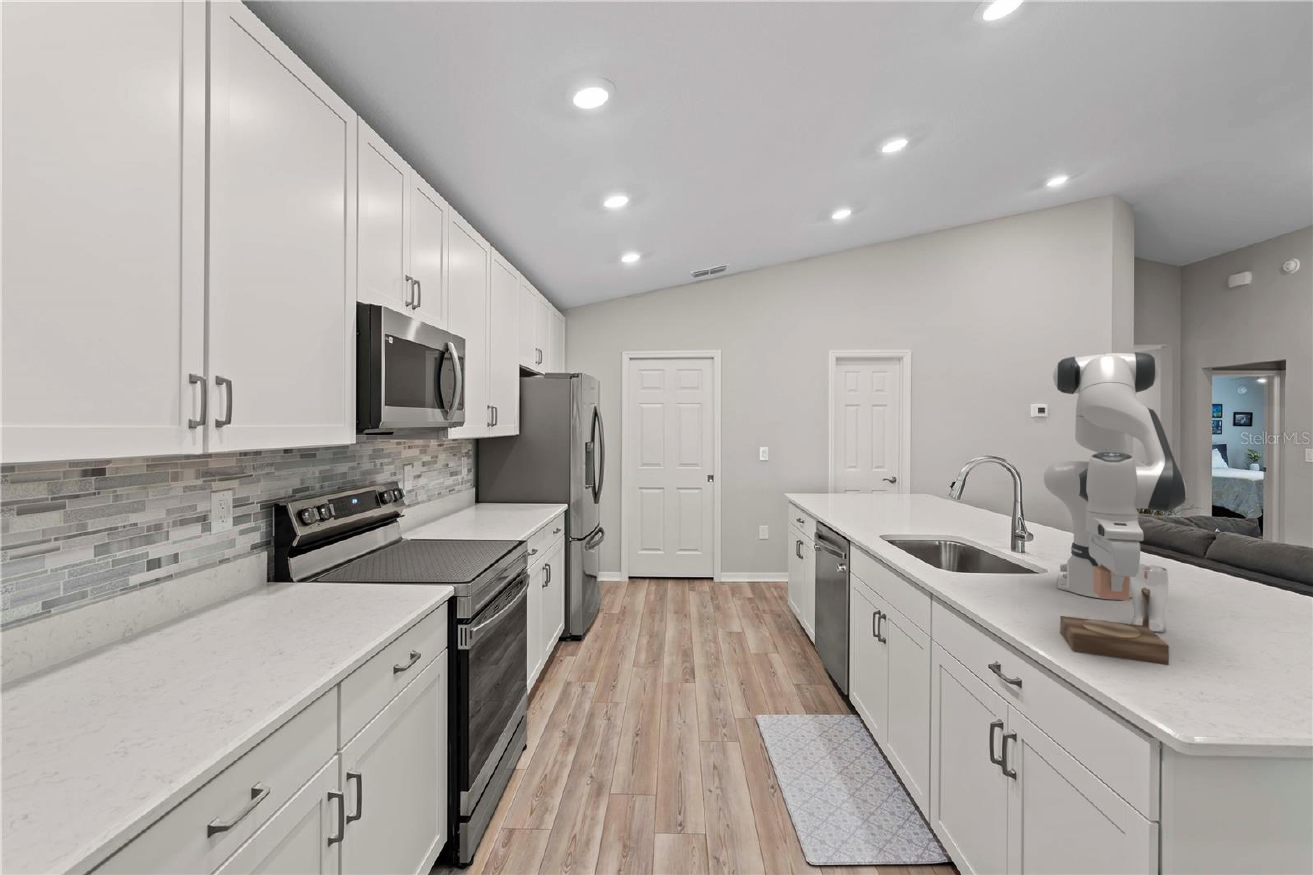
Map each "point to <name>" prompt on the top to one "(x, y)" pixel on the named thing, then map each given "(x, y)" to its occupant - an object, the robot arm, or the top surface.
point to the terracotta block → (1108, 585)
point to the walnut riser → (1114, 639)
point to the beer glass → (1149, 596)
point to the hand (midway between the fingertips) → (1111, 586)
